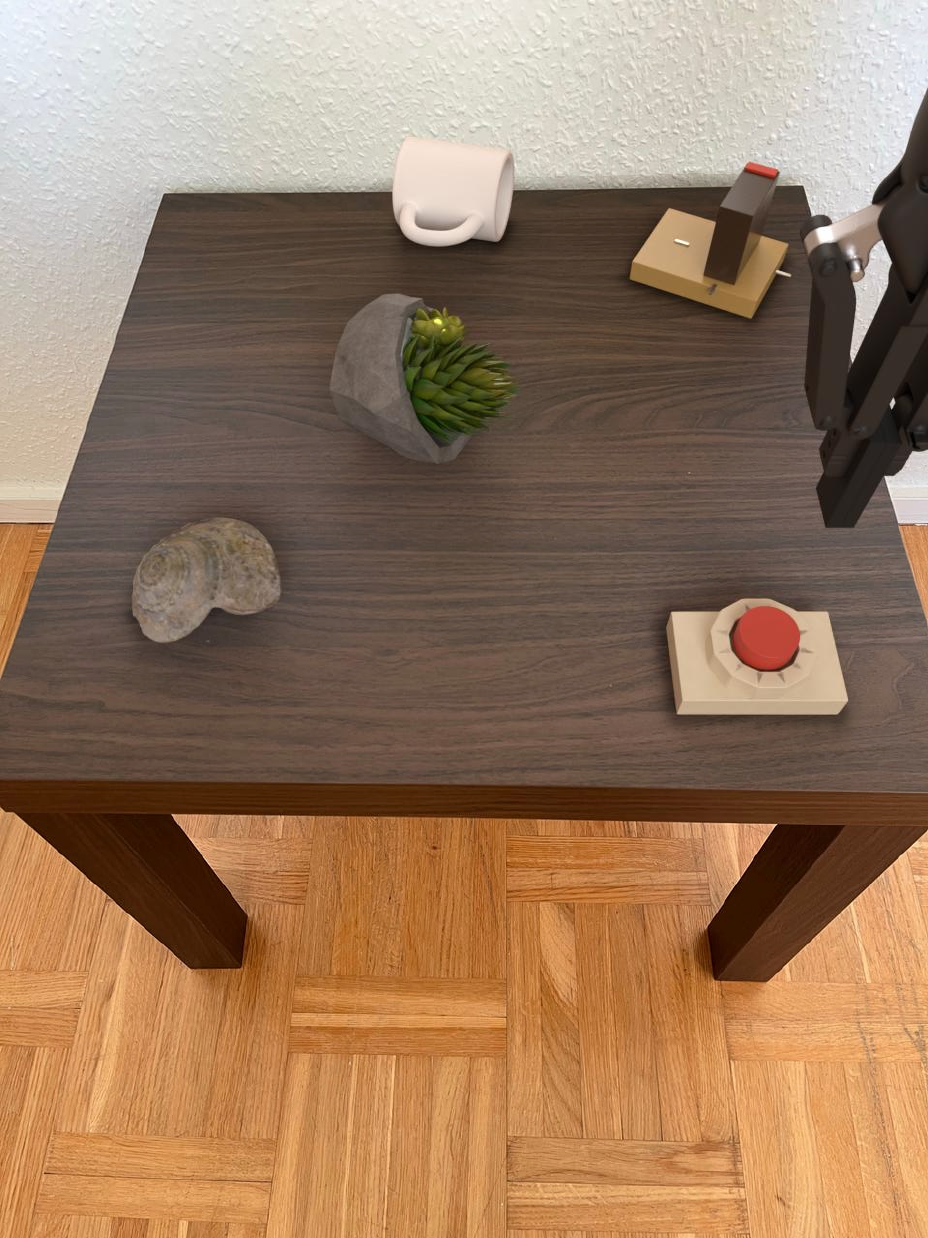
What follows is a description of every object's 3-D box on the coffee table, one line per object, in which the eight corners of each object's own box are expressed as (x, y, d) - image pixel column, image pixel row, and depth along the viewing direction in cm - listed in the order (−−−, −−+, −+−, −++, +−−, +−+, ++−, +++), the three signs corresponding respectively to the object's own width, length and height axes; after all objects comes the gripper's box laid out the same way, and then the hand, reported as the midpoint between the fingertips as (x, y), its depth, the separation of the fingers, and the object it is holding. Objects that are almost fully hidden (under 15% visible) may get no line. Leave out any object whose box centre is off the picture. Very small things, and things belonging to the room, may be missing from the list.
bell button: (787, 618, 62) (794, 605, 61) (797, 670, 60) (805, 657, 59) (728, 619, 62) (734, 605, 61) (736, 670, 60) (743, 658, 59)
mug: (419, 195, 93) (414, 118, 87) (513, 209, 92) (516, 132, 85) (382, 269, 87) (374, 193, 81) (483, 286, 86) (483, 210, 79)
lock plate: (803, 260, 87) (809, 240, 85) (764, 332, 82) (770, 312, 80) (669, 219, 91) (673, 199, 89) (624, 286, 86) (627, 266, 84)
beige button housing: (818, 627, 66) (836, 597, 63) (837, 714, 62) (858, 688, 59) (665, 627, 66) (675, 597, 63) (676, 714, 63) (687, 688, 59)
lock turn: (734, 285, 82) (754, 213, 76) (702, 275, 83) (720, 203, 77) (759, 241, 85) (781, 168, 79) (729, 232, 86) (748, 159, 80)
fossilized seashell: (180, 506, 71) (173, 473, 64) (304, 567, 72) (310, 540, 65) (110, 626, 68) (96, 604, 61) (241, 687, 69) (241, 672, 62)
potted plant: (396, 311, 79) (557, 313, 73) (383, 460, 81) (538, 475, 75) (314, 277, 69) (493, 276, 62) (300, 449, 71) (473, 465, 64)
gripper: (1243, -26, 30) (939, 453, 50) (846, -20, 31) (702, 454, 51) (1355, 100, 26) (978, 565, 47) (899, 107, 27) (721, 565, 47)
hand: (834, 507), depth 49 cm, fingers closed
